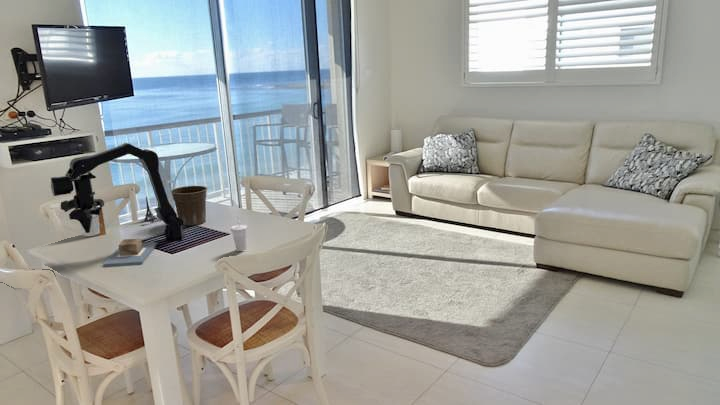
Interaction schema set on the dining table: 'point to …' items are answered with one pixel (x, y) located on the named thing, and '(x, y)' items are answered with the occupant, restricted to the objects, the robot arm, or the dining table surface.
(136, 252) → the walnut block
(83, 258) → the dining table surface
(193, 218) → the plant pot
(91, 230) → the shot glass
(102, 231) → the small box
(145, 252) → the board
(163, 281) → the dining table surface
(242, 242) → the smoothie
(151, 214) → the eiffel tower figurine
